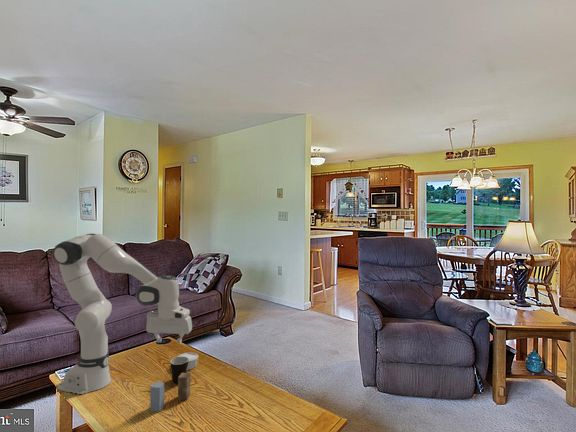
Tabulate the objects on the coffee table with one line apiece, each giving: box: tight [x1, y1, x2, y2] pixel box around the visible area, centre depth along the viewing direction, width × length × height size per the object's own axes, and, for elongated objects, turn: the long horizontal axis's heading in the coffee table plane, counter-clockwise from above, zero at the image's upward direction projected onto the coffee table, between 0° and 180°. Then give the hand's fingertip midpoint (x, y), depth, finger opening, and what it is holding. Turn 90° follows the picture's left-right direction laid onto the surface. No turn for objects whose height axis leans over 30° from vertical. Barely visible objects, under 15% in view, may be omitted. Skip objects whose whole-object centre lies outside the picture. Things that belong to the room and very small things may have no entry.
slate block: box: [149, 381, 165, 412], centre depth 137 cm, size 4×4×10 cm
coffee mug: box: [169, 356, 189, 385], centre depth 160 cm, size 12×9×10 cm
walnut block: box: [177, 372, 191, 401], centre depth 145 cm, size 4×4×10 cm
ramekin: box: [176, 352, 199, 371], centre depth 174 cm, size 11×11×5 cm
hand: (169, 342), depth 145 cm, fingers open, 8 cm apart
